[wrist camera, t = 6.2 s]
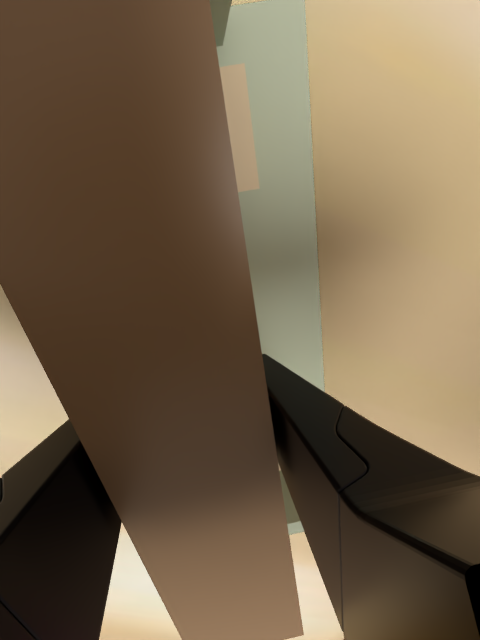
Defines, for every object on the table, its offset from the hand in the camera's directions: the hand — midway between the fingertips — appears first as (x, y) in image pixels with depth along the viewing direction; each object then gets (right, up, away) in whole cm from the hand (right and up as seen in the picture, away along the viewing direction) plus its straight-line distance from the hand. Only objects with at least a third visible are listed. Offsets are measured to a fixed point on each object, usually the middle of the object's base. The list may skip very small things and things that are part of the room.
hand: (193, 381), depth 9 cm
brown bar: (0, 0, +1) cm, 1 cm away
